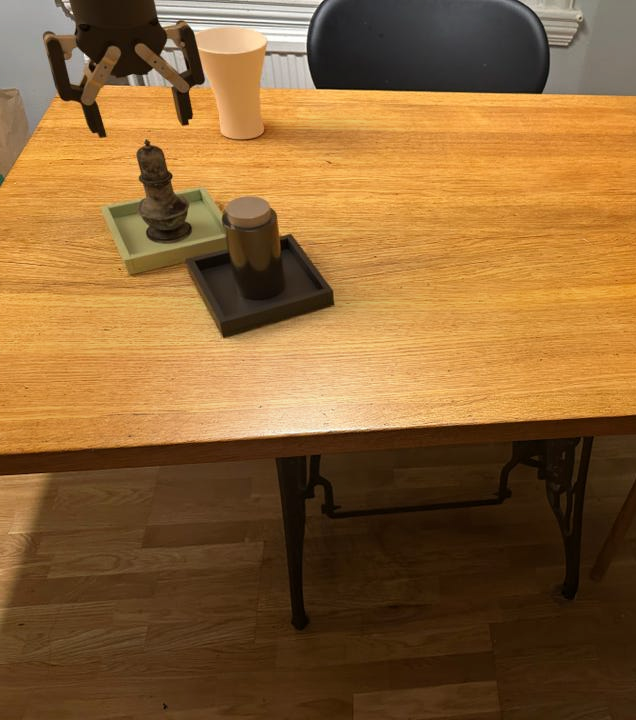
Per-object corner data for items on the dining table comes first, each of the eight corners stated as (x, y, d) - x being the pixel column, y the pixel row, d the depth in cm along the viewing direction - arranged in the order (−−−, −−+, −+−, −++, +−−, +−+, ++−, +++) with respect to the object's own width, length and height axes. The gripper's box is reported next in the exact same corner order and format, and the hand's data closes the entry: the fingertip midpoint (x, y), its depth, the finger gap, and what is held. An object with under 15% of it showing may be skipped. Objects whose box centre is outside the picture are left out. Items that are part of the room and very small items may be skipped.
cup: (210, 115, 110) (194, 25, 101) (278, 116, 112) (269, 28, 103) (203, 146, 103) (184, 52, 94) (276, 146, 105) (265, 54, 96)
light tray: (128, 275, 80) (124, 260, 78) (104, 220, 87) (100, 206, 85) (238, 249, 85) (235, 234, 84) (207, 199, 92) (204, 185, 91)
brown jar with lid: (244, 305, 77) (229, 226, 70) (227, 278, 80) (212, 199, 73) (292, 292, 79) (283, 214, 72) (275, 265, 82) (264, 188, 75)
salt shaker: (140, 222, 86) (115, 130, 78) (190, 215, 88) (171, 125, 80) (146, 248, 82) (119, 154, 74) (198, 240, 85) (178, 148, 76)
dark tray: (223, 338, 73) (219, 322, 72) (188, 273, 81) (185, 258, 79) (334, 305, 79) (333, 290, 78) (292, 247, 86) (291, 233, 85)
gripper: (24, -19, 60) (79, 155, 71) (192, -29, 67) (219, 132, 78) (12, -43, 65) (66, 124, 76) (171, -50, 71) (199, 106, 82)
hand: (143, 128), depth 77 cm, fingers open, 8 cm apart
